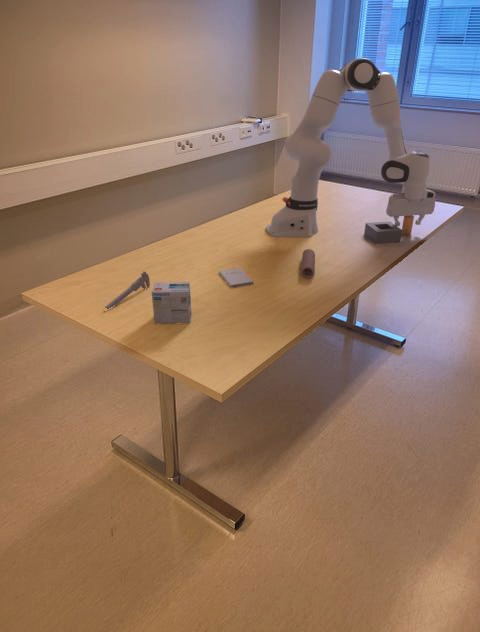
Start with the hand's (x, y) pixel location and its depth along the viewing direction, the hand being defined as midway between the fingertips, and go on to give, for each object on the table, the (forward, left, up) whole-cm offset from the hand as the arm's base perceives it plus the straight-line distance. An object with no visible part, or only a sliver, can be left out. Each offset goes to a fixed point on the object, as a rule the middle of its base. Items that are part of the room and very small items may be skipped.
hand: (407, 225), depth 212 cm
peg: (0, 0, -4) cm, 4 cm away
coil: (-53, -26, -5) cm, 59 cm away
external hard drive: (-80, -29, -5) cm, 85 cm away
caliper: (-117, -37, -5) cm, 123 cm away
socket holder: (-12, -2, -4) cm, 13 cm away
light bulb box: (-104, -53, -4) cm, 117 cm away
